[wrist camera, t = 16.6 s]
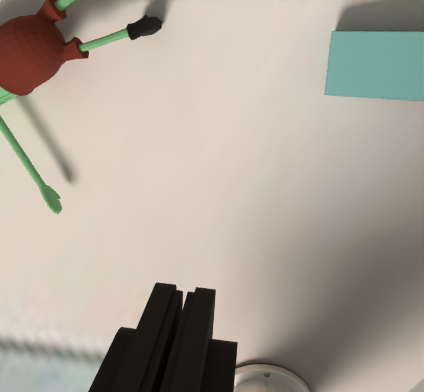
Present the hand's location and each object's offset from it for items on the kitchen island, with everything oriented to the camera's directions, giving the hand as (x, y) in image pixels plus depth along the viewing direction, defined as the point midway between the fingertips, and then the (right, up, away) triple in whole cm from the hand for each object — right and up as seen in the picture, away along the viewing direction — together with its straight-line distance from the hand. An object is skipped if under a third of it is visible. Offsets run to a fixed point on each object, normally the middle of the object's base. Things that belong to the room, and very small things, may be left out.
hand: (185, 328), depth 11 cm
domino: (+11, +15, +22) cm, 29 cm away
